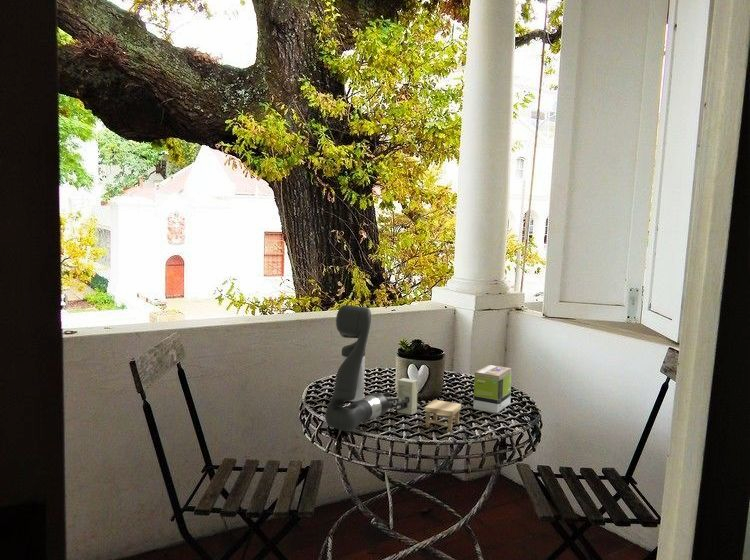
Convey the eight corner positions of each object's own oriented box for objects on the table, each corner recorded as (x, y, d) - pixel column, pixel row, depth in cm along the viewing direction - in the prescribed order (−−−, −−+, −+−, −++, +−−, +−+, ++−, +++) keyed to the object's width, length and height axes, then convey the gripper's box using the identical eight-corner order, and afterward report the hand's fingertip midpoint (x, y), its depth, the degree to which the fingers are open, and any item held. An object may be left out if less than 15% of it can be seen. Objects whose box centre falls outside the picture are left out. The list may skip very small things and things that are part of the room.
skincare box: (417, 412, 236) (418, 380, 235) (411, 415, 232) (413, 382, 231) (401, 409, 239) (403, 377, 238) (396, 412, 236) (397, 379, 234)
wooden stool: (423, 426, 221) (424, 406, 220) (433, 418, 230) (434, 399, 229) (451, 431, 217) (452, 411, 216) (460, 423, 226) (461, 404, 225)
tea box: (486, 400, 256) (488, 363, 255) (510, 404, 251) (513, 367, 250) (472, 409, 244) (474, 370, 242) (497, 414, 238) (499, 375, 237)
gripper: (389, 400, 213) (415, 390, 226) (355, 391, 221) (383, 382, 234) (388, 422, 214) (414, 411, 227) (355, 413, 222) (382, 402, 235)
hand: (398, 396), depth 231 cm, fingers open, 8 cm apart
